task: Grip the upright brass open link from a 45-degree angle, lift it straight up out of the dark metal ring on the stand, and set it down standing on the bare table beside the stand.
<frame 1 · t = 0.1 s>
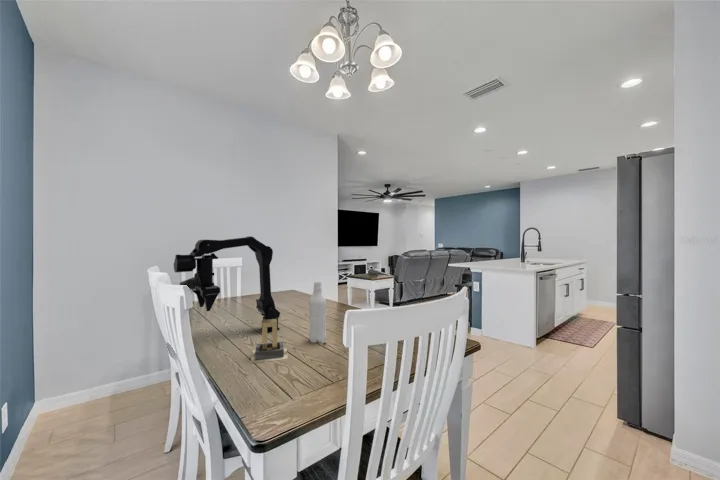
hand: (204, 309, 115), 15 cm above the table, tool pointing down, fingers open, 9 cm apart
ring stand: (269, 358, 103), on the table
brass link: (269, 353, 103), point 1 cm above the table, touching ring stand
water bottle: (317, 343, 117), on the table
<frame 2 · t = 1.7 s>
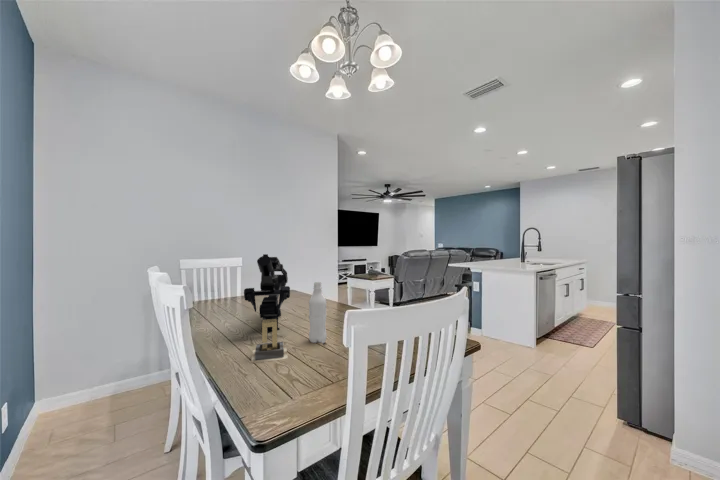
hand: (267, 310, 118), 13 cm above the table, tool tilted 45°, fingers open, 9 cm apart
nothing on the table moved.
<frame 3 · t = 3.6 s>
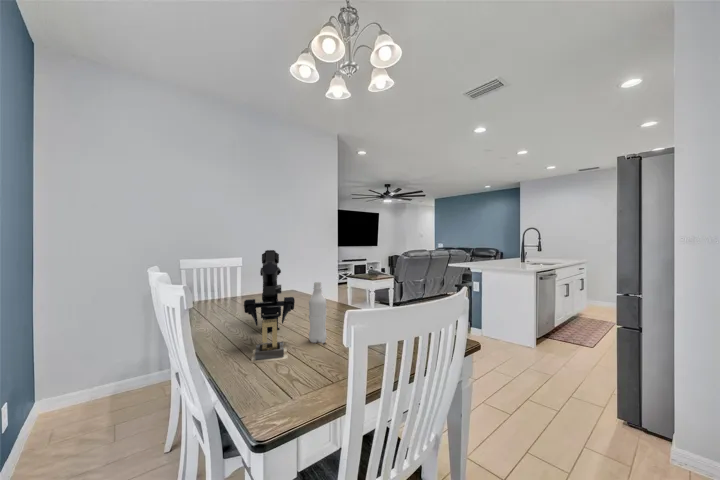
hand: (269, 324, 106), 11 cm above the table, tool tilted 45°, fingers open, 9 cm apart
nothing on the table moved.
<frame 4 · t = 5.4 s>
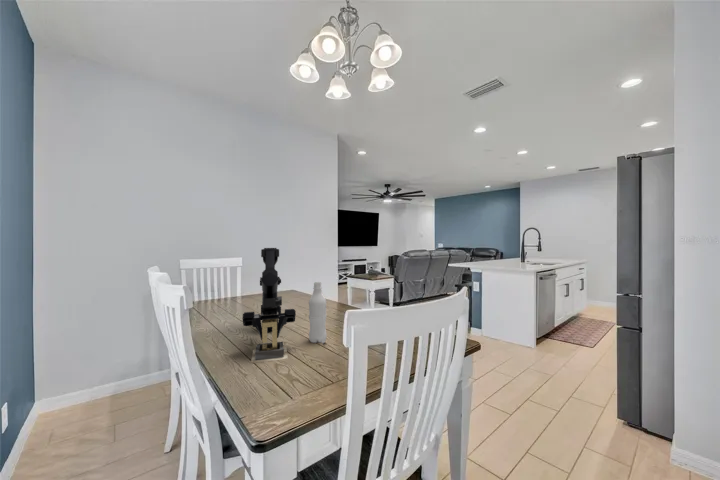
hand: (269, 338, 101), 8 cm above the table, tool tilted 45°, fingers closed on brass link, 5 cm apart
brass link: (269, 353, 103), point 2 cm above the table, touching gripper, ring stand
everything else where it was.
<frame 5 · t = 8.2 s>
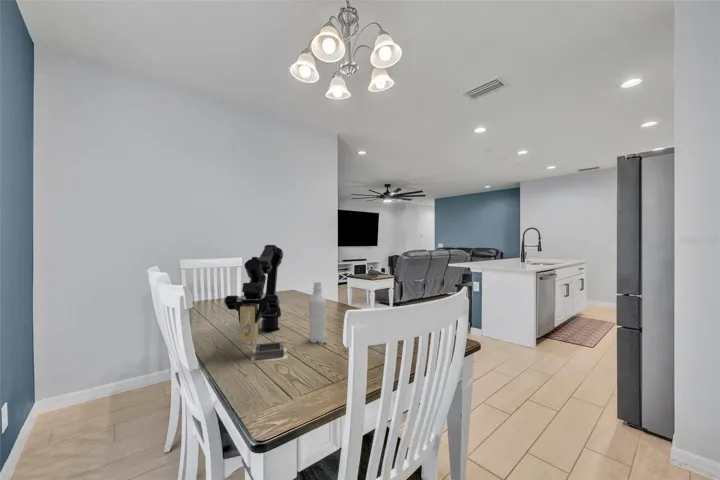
hand: (247, 322, 100), 13 cm above the table, tool tilted 45°, fingers closed on brass link, 5 cm apart
brass link: (249, 338, 102), point 7 cm above the table, touching gripper
everything else where it was.
when the fingers open (7 cm above the table, at t = 10.9 s): brass link stays where it is, on the table.
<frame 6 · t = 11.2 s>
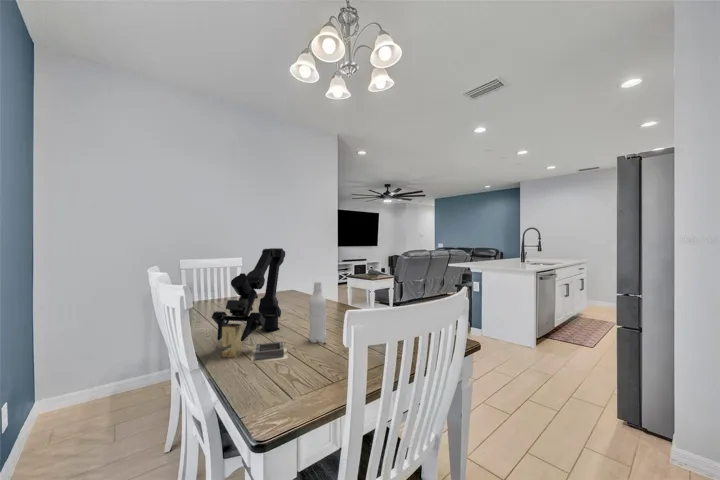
hand: (229, 340, 101), 7 cm above the table, tool tilted 45°, fingers open, 8 cm apart
brass link: (232, 358, 102), on the table
everything else where it was.
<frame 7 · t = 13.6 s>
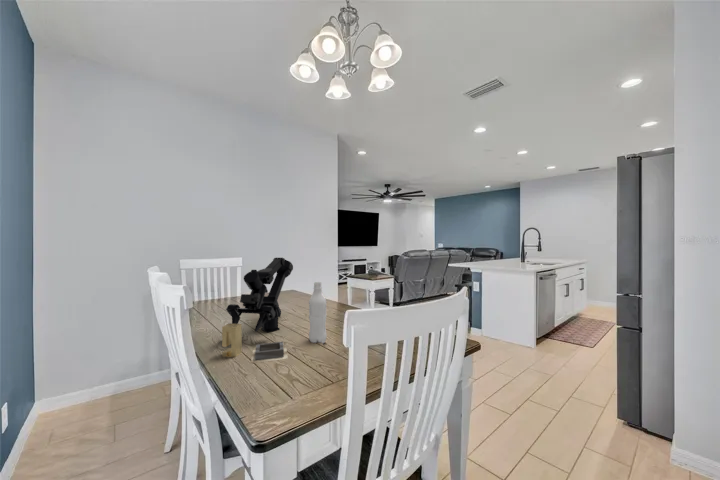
hand: (244, 330, 110), 7 cm above the table, tool tilted 45°, fingers open, 9 cm apart
nothing on the table moved.
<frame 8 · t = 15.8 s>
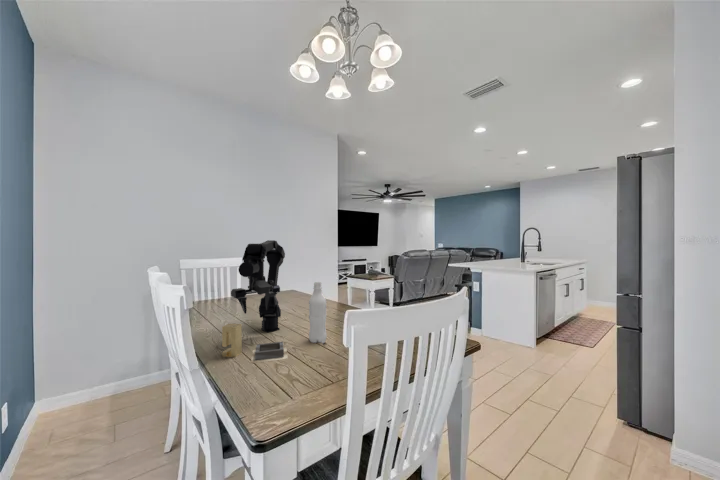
hand: (256, 311, 118), 13 cm above the table, tool pointing down, fingers open, 9 cm apart
nothing on the table moved.
at the end: brass link 0.0 cm from the target spot, on the table; brass link tilted 0°; the gripper is holding nothing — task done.
